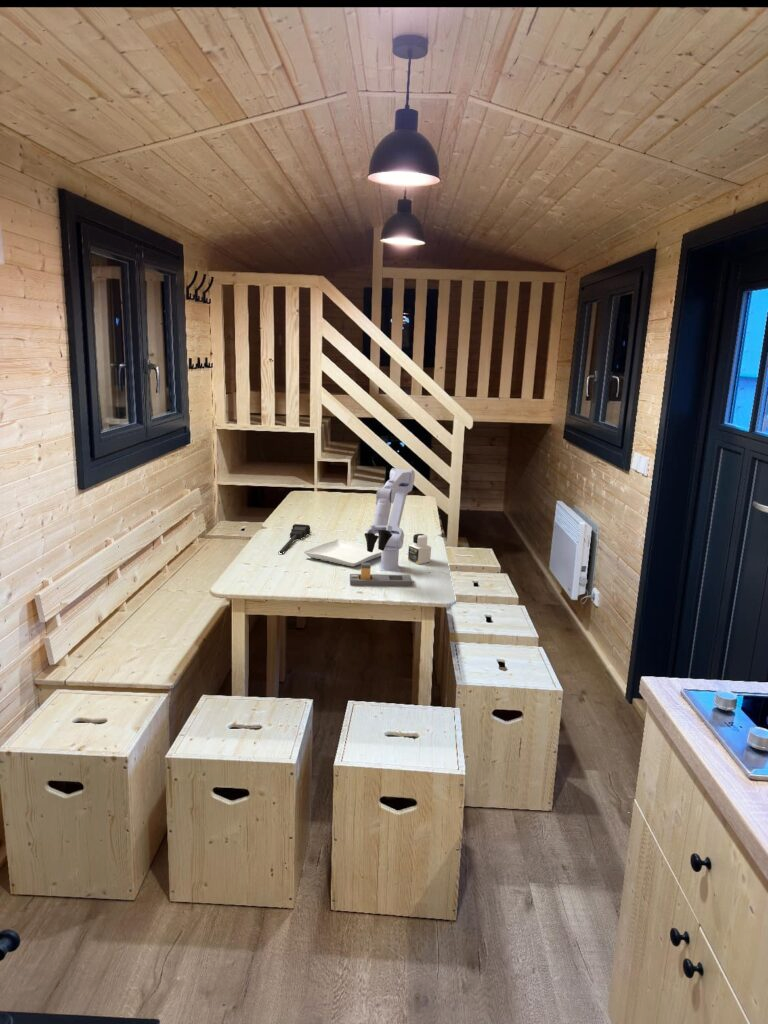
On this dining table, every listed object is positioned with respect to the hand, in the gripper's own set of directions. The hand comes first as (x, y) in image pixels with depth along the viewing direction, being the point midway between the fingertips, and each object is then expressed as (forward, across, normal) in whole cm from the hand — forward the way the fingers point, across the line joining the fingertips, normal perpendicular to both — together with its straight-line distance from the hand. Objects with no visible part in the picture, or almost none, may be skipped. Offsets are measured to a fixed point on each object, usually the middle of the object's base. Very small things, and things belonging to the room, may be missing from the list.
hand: (375, 550), depth 273 cm
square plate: (-3, -39, +11) cm, 41 cm away
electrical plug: (-10, -70, -1) cm, 70 cm away
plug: (+11, -8, +3) cm, 14 cm away
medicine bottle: (-7, -20, +36) cm, 42 cm away
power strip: (+11, -5, +8) cm, 14 cm away
